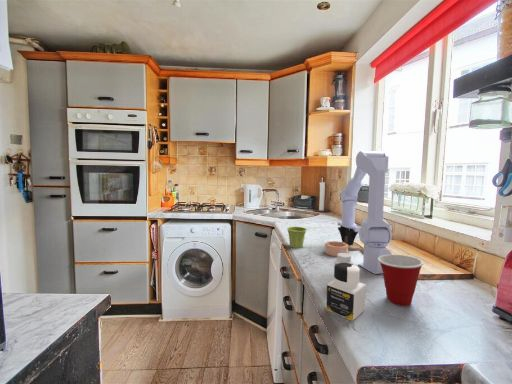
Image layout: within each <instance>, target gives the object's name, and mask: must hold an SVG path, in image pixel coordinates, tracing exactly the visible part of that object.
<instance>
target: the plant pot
mask: <svg viewBox="0 0 512 384" xmlns="http://www.w3.org/2000/svg"><path fill="white" fill-rule="evenodd" d="M286 230H287V233H288V241H289V247H291V248H294V249H297V248H298V249H301V248H303V247H304V240H305V235H306V232H307V228H305V227H302V226H288V227H287V228H286Z"/></svg>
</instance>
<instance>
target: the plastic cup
mask: <svg viewBox="0 0 512 384" xmlns="http://www.w3.org/2000/svg"><path fill="white" fill-rule="evenodd" d="M378 261H379V262H380V264H381V267H382V270H383V273H382V276H383V283H384V288H385V294H386V298H387V300H388V302H390V303H391V304H393V305H397V306H401V307H408V306H410V305H411V304H412V302H413V297H414V294H415V293H416V292H415V291H416V287H417V282H418V278H419V275H420V272H421V268H422V266H423V265H424V261H423V260H422V259H420V258H418V257H414V256H410V255H404V254H392V255H383V256H380V257H378Z"/></svg>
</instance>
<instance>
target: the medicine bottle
mask: <svg viewBox="0 0 512 384" xmlns="http://www.w3.org/2000/svg"><path fill="white" fill-rule="evenodd" d="M333 269H334V270H333V271H334V272H333V273H334V274H333V279H332V280H331V281H330V282H328V283H327V284H326V310H327V311H328V312H331V313H333V314H335V315H338V316H339V315H340V317H342V318H344V317H345V319H346V318H347V319H346V320H349V321H351V322H353V321H354V319H355V320H356V319H357V318H358V317H359V316H360V315H361V314H363V312H364V311H365V306H366V284H365V283H363V282H360V268H359V267H358V266H357V265H356V264H354V263H353V264H350V263H338V264H336V265H335V266H334V265H333Z"/></svg>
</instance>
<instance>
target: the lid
mask: <svg viewBox="0 0 512 384" xmlns="http://www.w3.org/2000/svg"><path fill="white" fill-rule="evenodd" d="M344 243H346V244H348V238H347V236H345V242H344ZM360 247H361V246H360V245H359V244H357V243H353V245H348V250H349V251H348V252H356V251H355V250H358V251H360V250H359V249H360Z"/></svg>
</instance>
